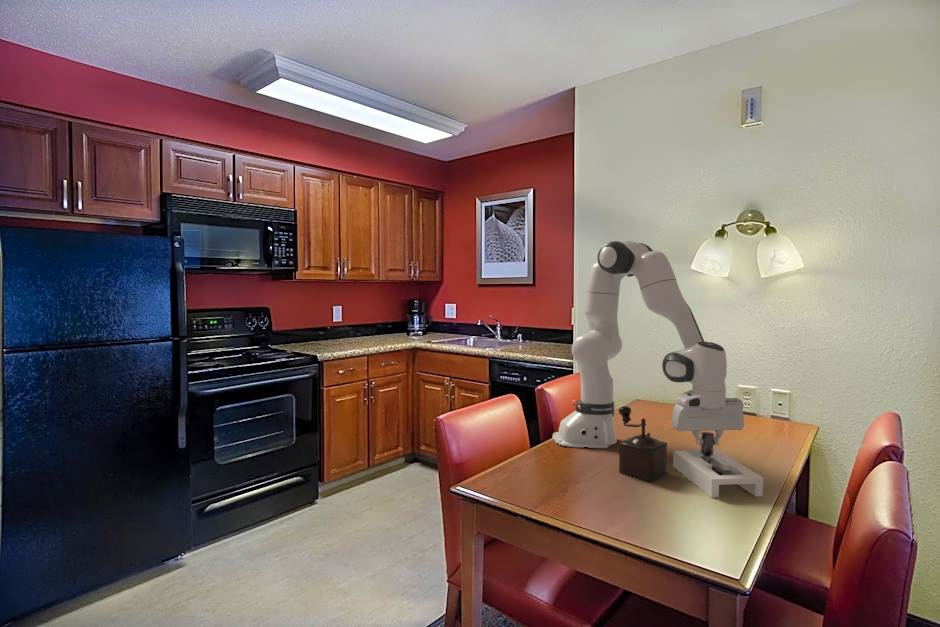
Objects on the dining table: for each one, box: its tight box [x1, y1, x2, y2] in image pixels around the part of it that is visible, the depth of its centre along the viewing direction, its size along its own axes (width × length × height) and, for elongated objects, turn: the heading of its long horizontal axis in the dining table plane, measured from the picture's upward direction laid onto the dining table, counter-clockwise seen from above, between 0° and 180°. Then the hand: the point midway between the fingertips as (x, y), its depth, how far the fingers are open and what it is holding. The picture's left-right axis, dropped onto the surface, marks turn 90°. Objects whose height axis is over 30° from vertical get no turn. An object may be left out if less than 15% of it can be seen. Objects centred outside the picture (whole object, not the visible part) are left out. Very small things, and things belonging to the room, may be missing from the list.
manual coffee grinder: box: [618, 405, 668, 483], centre depth 152 cm, size 16×11×18 cm
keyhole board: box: [672, 449, 764, 499], centre depth 145 cm, size 14×22×5 cm, turn 3°
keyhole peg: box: [700, 431, 717, 473], centre depth 149 cm, size 5×5×12 cm
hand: (707, 444), depth 148 cm, fingers closed on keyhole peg, 3 cm apart
